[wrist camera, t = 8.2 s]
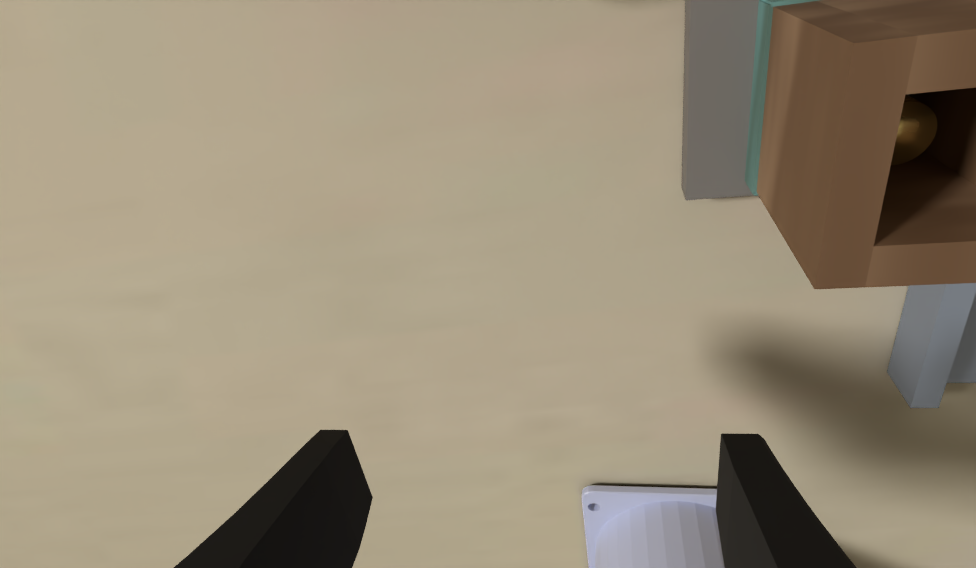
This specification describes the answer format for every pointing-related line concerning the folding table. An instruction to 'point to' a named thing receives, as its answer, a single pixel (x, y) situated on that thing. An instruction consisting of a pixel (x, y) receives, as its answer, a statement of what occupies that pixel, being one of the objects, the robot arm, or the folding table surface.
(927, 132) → the brass pin
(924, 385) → the tray
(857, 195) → the walnut sleeve
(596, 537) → the robot arm
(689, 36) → the pin board
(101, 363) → the folding table surface
